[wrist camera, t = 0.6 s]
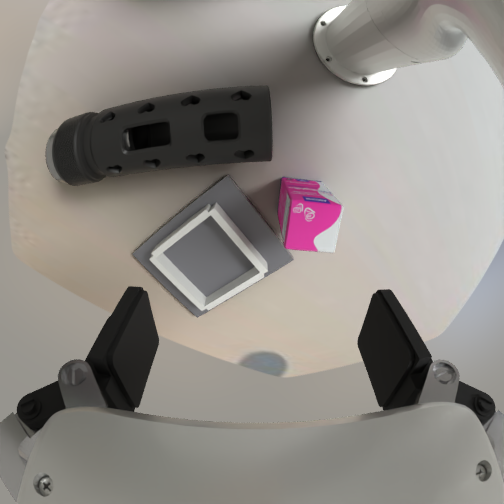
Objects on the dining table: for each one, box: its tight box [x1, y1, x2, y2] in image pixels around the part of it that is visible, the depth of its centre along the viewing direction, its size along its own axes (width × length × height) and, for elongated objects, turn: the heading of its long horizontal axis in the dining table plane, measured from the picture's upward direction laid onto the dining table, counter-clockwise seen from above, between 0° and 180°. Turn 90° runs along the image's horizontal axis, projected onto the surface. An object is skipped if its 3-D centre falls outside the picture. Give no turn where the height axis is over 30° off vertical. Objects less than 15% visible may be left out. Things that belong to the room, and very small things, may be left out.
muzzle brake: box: [46, 86, 272, 186], centre depth 30 cm, size 10×28×10 cm, turn 93°
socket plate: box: [133, 175, 293, 318], centre depth 41 cm, size 20×16×4 cm
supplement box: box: [278, 177, 344, 253], centre depth 33 cm, size 6×6×12 cm
